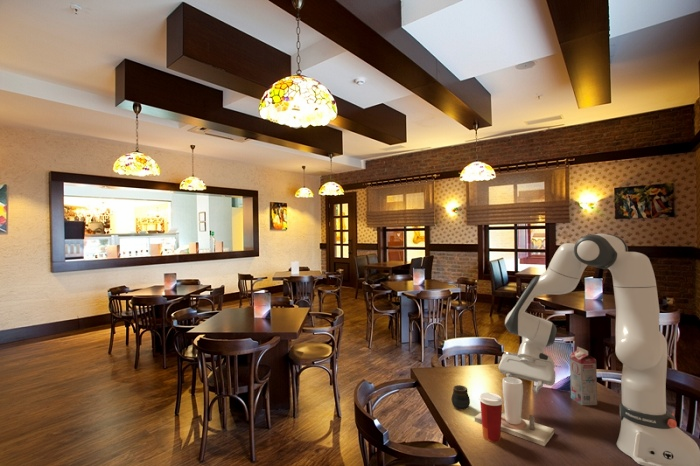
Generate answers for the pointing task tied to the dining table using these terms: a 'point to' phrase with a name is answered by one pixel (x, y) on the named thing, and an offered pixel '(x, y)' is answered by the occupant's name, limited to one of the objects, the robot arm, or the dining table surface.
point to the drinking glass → (512, 399)
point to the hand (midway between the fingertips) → (521, 388)
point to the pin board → (525, 429)
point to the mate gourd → (460, 397)
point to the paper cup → (491, 416)
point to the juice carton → (583, 377)
